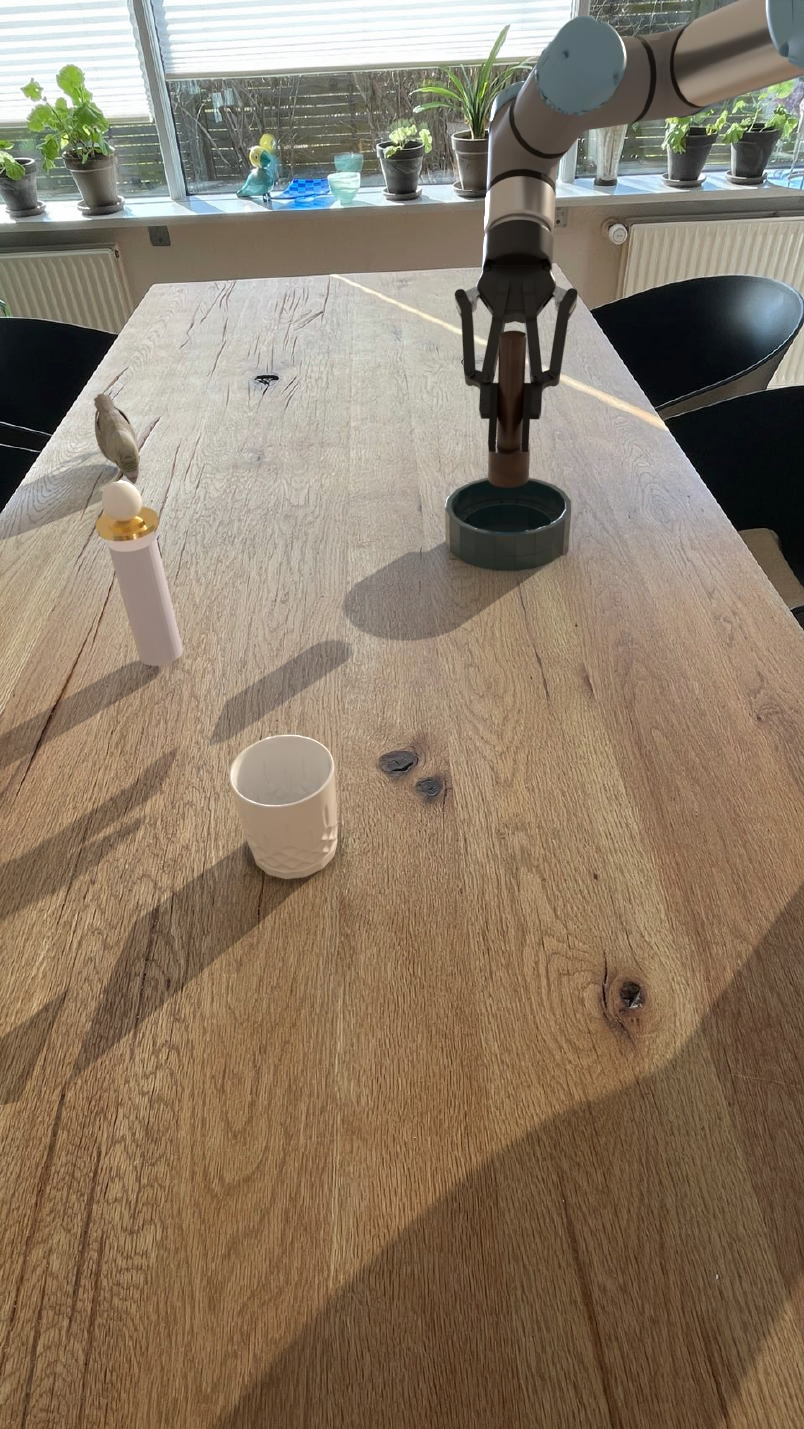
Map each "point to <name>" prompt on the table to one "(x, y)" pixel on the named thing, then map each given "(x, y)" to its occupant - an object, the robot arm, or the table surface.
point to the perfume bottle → (140, 573)
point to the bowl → (508, 524)
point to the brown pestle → (510, 415)
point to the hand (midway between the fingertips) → (508, 446)
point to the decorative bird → (116, 437)
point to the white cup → (287, 804)
